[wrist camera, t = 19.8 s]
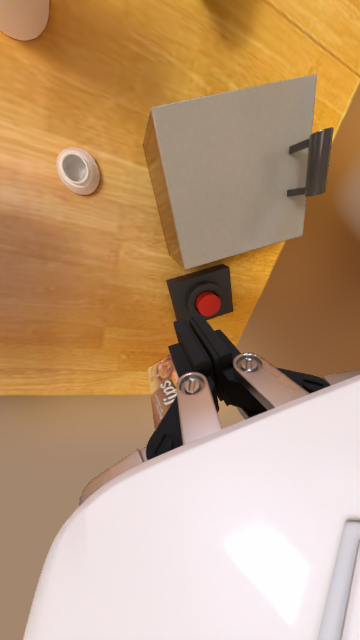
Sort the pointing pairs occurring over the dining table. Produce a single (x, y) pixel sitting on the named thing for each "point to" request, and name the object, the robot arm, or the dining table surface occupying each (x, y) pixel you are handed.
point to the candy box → (162, 387)
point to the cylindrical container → (23, 18)
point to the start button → (208, 303)
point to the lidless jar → (77, 170)
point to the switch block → (200, 291)
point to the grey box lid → (241, 167)
